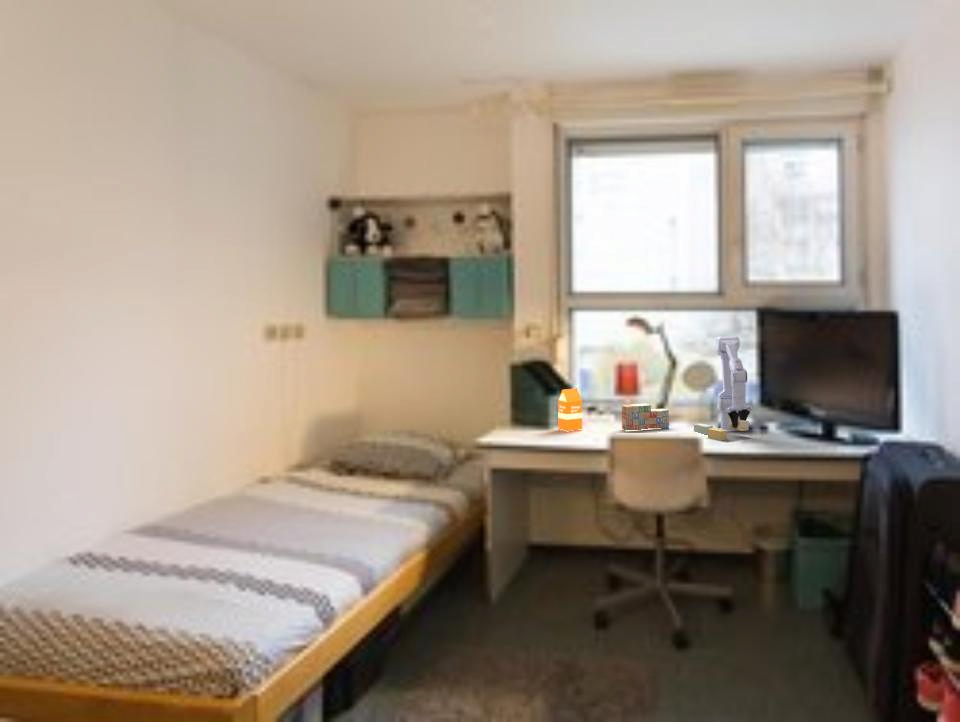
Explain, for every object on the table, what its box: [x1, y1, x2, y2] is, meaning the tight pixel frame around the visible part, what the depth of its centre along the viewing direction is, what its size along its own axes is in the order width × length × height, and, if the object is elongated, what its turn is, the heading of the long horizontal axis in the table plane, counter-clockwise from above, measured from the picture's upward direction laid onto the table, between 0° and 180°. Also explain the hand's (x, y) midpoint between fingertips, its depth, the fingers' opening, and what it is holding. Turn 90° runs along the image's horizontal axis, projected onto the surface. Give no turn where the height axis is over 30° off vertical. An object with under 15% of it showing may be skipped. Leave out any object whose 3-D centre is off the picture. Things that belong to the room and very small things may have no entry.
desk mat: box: [708, 432, 754, 443], centre depth 401 cm, size 16×27×1 cm, turn 29°
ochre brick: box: [707, 427, 728, 441], centre depth 395 cm, size 8×4×4 cm, turn 30°
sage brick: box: [693, 423, 714, 435], centre depth 407 cm, size 8×4×4 cm, turn 30°
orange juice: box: [557, 387, 583, 431], centre depth 425 cm, size 8×9×20 cm
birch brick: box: [729, 419, 750, 432], centre depth 397 cm, size 8×4×4 cm, turn 30°
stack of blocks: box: [621, 403, 670, 431], centre depth 423 cm, size 21×6×12 cm, turn 102°
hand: (738, 426), depth 397 cm, fingers closed on birch brick, 4 cm apart
